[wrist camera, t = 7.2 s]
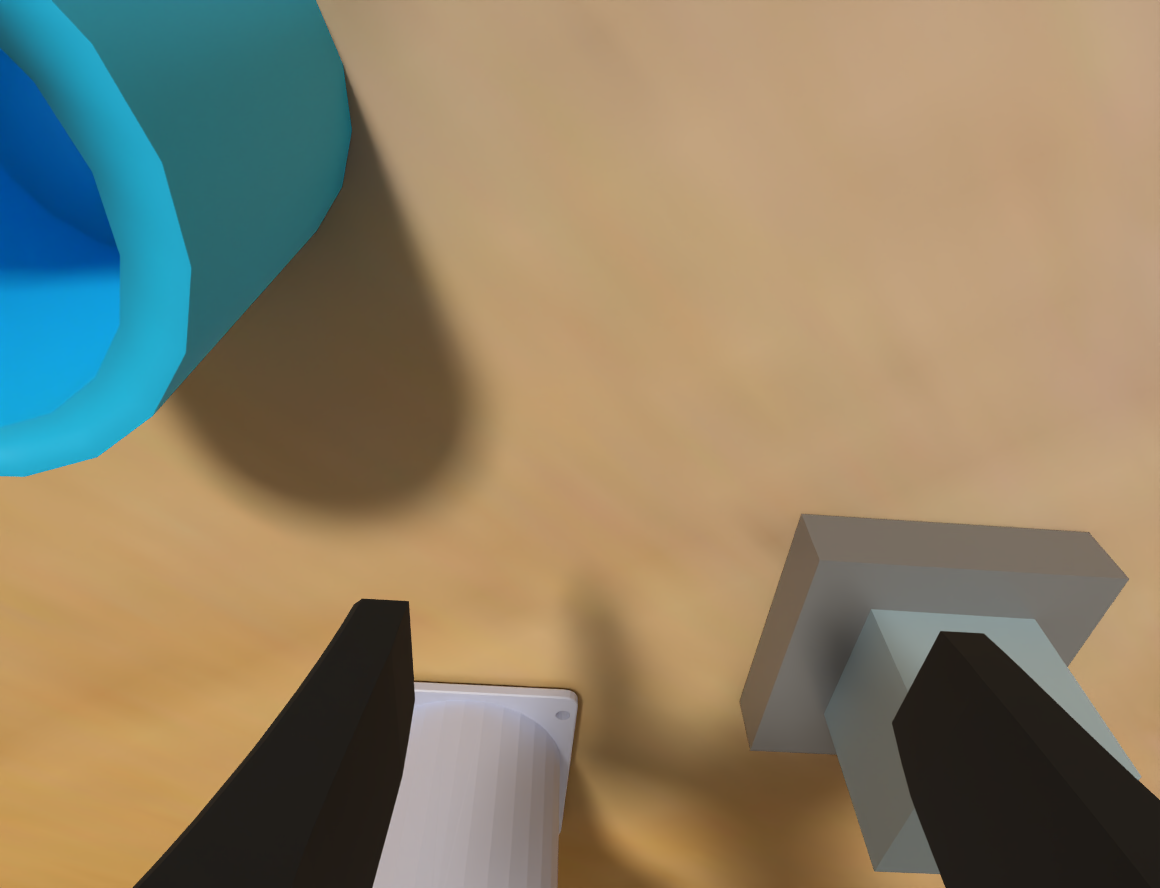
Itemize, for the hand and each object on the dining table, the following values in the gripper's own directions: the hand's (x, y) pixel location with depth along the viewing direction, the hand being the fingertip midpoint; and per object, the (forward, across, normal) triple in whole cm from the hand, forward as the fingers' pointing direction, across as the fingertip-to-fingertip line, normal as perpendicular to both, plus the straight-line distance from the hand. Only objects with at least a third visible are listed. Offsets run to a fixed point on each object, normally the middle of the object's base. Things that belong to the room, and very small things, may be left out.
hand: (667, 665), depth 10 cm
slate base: (+10, -10, +10) cm, 18 cm away
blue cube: (+8, -10, +10) cm, 17 cm away
